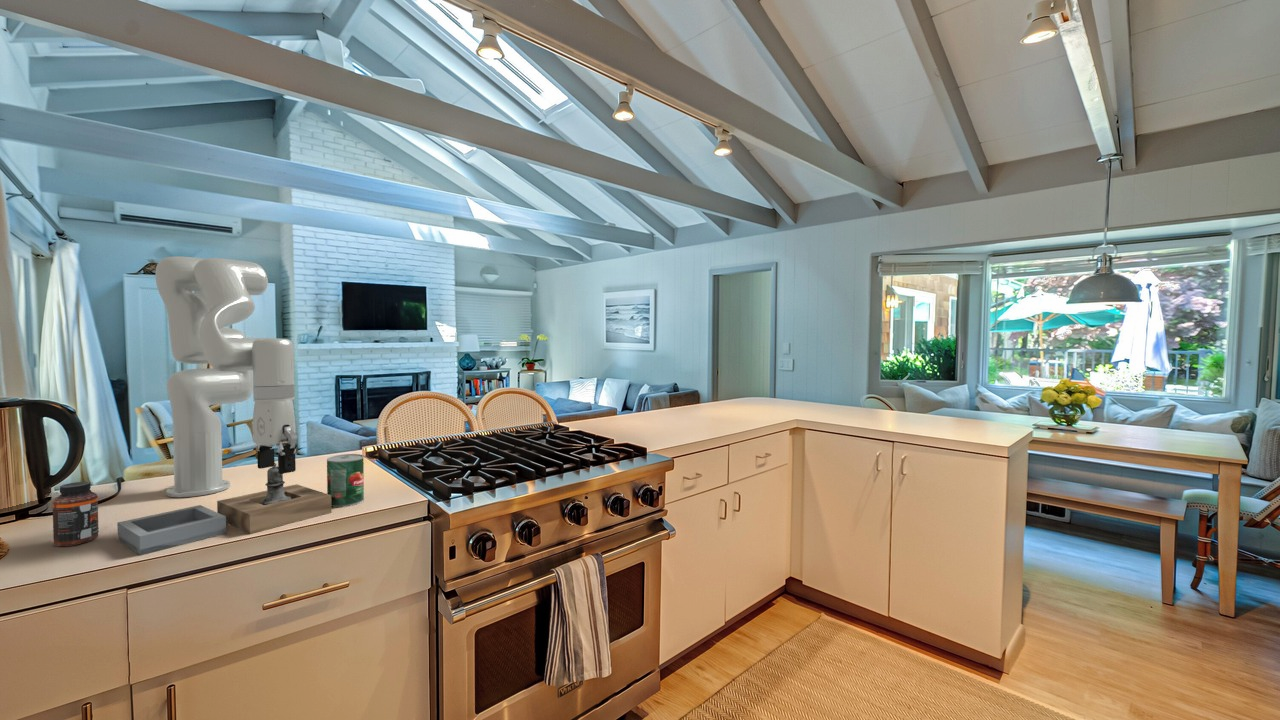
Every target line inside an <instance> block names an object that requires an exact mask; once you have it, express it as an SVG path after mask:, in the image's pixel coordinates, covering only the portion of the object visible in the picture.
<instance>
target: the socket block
mask: <svg viewBox="0 0 1280 720" xmlns="http://www.w3.org/2000/svg"><path fill="white" fill-rule="evenodd" d="M283 491H284V494H285V496H289V497H291V499H290V500H286V501H281V502H277V503H273V504H268V505H262V504H260V503H259V502H260V501H261V500H263V499H265V498H266V496H267V490H262V491H259V492H258V491H257V492H254V493H249V494H243V495H240V496H239V495H238V496H235V497H229V498H225V499H220V500H217V501H216V504H217V506H216V507H217V508H216V509H217V510H216V512H217V513H219V514H222V515H224V516H226V525H230V526H232V527H234V528H236V529H238V530H240V531H243V532H245V533H247V534H250V535H251V534H252V535H253V534H256V533H259V532H263V531H267V530H270V529H274V528H279V527H282V526H286V525H289V524H293V523H297V522H300V521H304V520H308V519H311V518H315V517H316V518H317V517H319V515H320V516H323V514H324V515H326V514H330V513H332V507H331V495H329V494H327V493H326V492H323V491H319V490H317V489H313V488H309V487H306V486H305V485H304V486H303V485H300V484H291V485H287V486H283Z"/></svg>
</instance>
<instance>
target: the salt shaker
mask: <svg viewBox="0 0 1280 720" xmlns="http://www.w3.org/2000/svg"><path fill="white" fill-rule="evenodd" d="M266 472H267V477H266V478H267V482H266V483H265V486H266V487H267V488H266V489H267V490H266V491H267V496H266V498H265V499H263V500H261V501H260V502H259V503H260V504H262V505H268V504H273V503H277V502H281V501H286V500H290V499H291V497H289V496H285V494H284V491H283V487H284V484H286V482H285V481H284V475H283V474H279V473H278V463H276V462H275V463H274V466H273V467H269V468H268V470H267V471H266Z"/></svg>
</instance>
